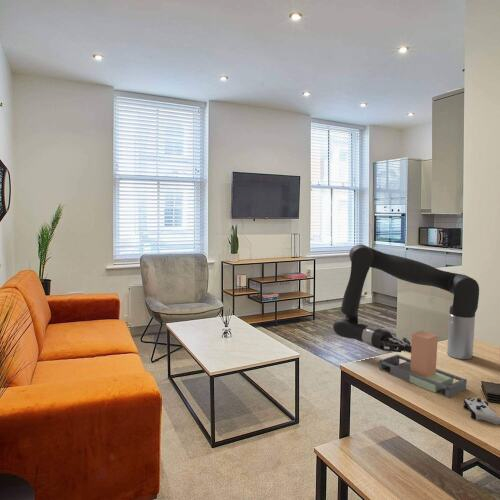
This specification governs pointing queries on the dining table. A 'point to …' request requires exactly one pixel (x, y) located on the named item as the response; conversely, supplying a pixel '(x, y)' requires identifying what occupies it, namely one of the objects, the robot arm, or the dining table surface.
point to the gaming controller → (481, 410)
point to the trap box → (434, 383)
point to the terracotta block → (424, 354)
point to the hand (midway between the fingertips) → (416, 351)
